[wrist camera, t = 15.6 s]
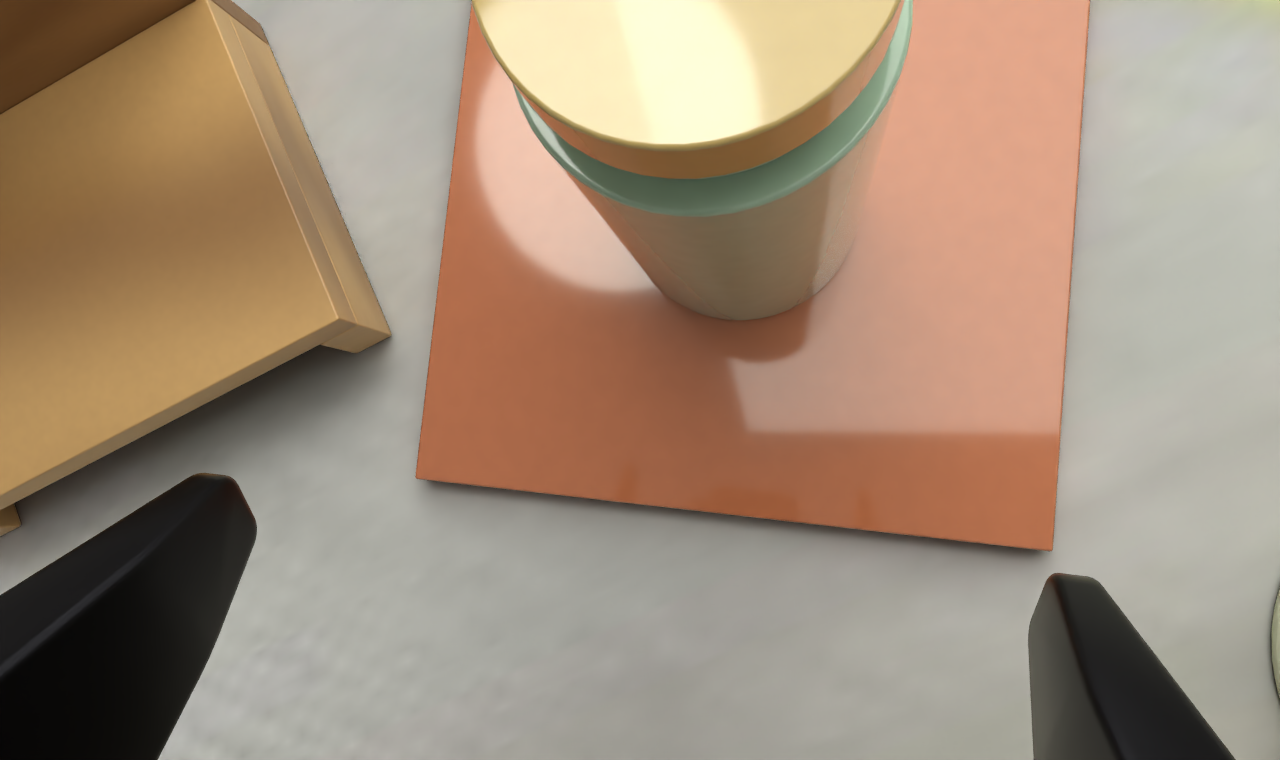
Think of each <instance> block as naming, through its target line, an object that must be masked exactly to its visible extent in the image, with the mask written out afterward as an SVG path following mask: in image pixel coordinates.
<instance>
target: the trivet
mask: <svg viewBox="0 0 1280 760" xmlns="http://www.w3.org/2000/svg"><path fill="white" fill-rule="evenodd" d="M1089 11H1090V0H913V25H912V31H911V37H910V42H909V48H908V53H907V56H906V60H905V63H904V67H903V71H902V74H901V78H900V81H899V85H898V89H897V92H896V96H895V99H894V103H893V106H892V110H891V114H890V117H889V121H888V124H887V128H886V132H885V135H884V139H883V142H882V146H881V149H880V153H879V157H878V160H877V164H876V167H875V171H874V175H873V178H872V182H871V185H870V189H869V192H868V196H867V200H866V203H865V207H864V210H863V214H862V217H861V221H860V225H859V228H858V231H857V235H856V238H855V241H854V244H853V246H852V248H851V250H850V252H849V254H848V256H847V258H846V260H845V261H844V263H843V264H842V266H841V267H840V269H839V270H838V272H837V273H836V274H835V275H834V276H833V278H832V279H831V280H830V281H829V282H828V283H827V284H826V285H825V286H824V287H823V288H822V289H821V290H820V291H818V292H817V293H816V294H815V295H813V296H812V297H810V298H809V299H808V300H806V301H805V302H803V303H801V304H799V305H797V306H796V307H794V308H792V309H790V310H787V311H785V312H782V313H779V314H777V315H774V316H769V317H765V318H761V319H753V320H725V319H719V318H712V317H709V316H706V315H702V314H699V313H696V312H694V311H692V310H690V309H688V308H685V307H683V306H682V305H680V304H679V303H677V302H675V301H674V300H672V299H671V298H670V297H668V296H667V295H666V294H665V293H663V292H662V291H661V290H660V289H659V288H658V287H657V286H656V285H655V284H654V283H653V282H652V281H651V279H650V278H649V277H648V276H647V275H646V273H645V272H644V271H643V270H642V268H641V267H640V266H639V265H638V263H637V262H636V261H635V260H634V258H633V257H632V256H631V255H630V253H629V252H628V251H627V250H626V248H625V247H624V246H623V245H622V244H621V242H620V241H619V240H618V239H617V237H616V236H615V235H614V234H613V232H612V231H611V230H610V229H609V227H608V226H607V225H606V224H605V222H604V221H603V220H602V219H601V217H600V216H599V215H598V214H597V213H596V211H595V210H594V209H593V208H592V206H591V205H590V204H589V203H588V201H587V200H586V199H585V198H584V196H583V195H582V194H581V193H580V191H579V190H578V189H577V188H576V186H575V185H574V184H573V183H572V181H571V180H570V179H569V178H568V177H567V175H566V174H565V173H564V172H563V170H562V169H561V168H560V167H559V165H558V164H557V163H556V162H555V160H554V159H553V158H552V157H551V155H550V154H549V153H548V152H547V150H546V149H545V148H544V146H543V145H542V143H541V142H540V141H539V139H538V138H537V136H536V135H535V133H534V132H533V131H532V129H531V127H530V125H529V123H528V121H527V119H526V117H525V115H524V113H523V111H522V110H521V108H520V105H519V102H518V99H517V96H516V93H515V90H514V87H513V84H512V82H511V80H510V79H509V78H508V76H507V75H506V73H505V72H504V70H503V69H502V68H501V66H500V65H499V63H498V62H497V61H496V59H495V58H494V56H493V54H492V52H491V50H490V48H489V46H488V44H487V42H486V40H485V38H484V37H483V35H482V33H481V30H480V27H479V24H478V21H477V18H476V15H475V12H474V9H473V6H472V4H471V12H470V21H469V29H468V38H467V46H466V54H465V63H464V71H463V80H462V88H461V97H460V105H459V113H458V122H457V130H456V139H455V147H454V156H453V164H452V173H451V181H450V189H449V198H448V206H447V215H446V223H445V232H444V240H443V249H442V257H441V265H440V274H439V282H438V291H437V299H436V308H435V316H434V325H433V333H432V341H431V350H430V358H429V367H428V375H427V384H426V392H425V400H424V409H423V417H422V426H421V434H420V443H419V451H418V460H417V468H416V476H415V477H416V478H417V479H422V480H431V481H439V482H448V483H457V484H466V485H474V486H483V487H492V488H501V489H509V490H518V491H527V492H536V493H544V494H553V495H562V496H571V497H579V498H588V499H597V500H606V501H614V502H623V503H632V504H641V505H649V506H658V507H667V508H676V509H684V510H693V511H702V512H711V513H719V514H728V515H737V516H746V517H754V518H763V519H772V520H781V521H789V522H798V523H807V524H815V525H824V526H833V527H842V528H850V529H859V530H868V531H877V532H885V533H894V534H903V535H912V536H920V537H929V538H938V539H947V540H955V541H964V542H973V543H982V544H990V545H999V546H1008V547H1017V548H1025V549H1034V550H1043V551H1052V550H1053V538H1054V523H1055V509H1056V494H1057V479H1058V465H1059V450H1060V435H1061V421H1062V406H1063V391H1064V377H1065V362H1066V347H1067V333H1068V318H1069V303H1070V289H1071V274H1072V260H1073V245H1074V230H1075V216H1076V201H1077V186H1078V172H1079V157H1080V142H1081V128H1082V113H1083V98H1084V84H1085V69H1086V55H1087V40H1088V25H1089Z"/></svg>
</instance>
